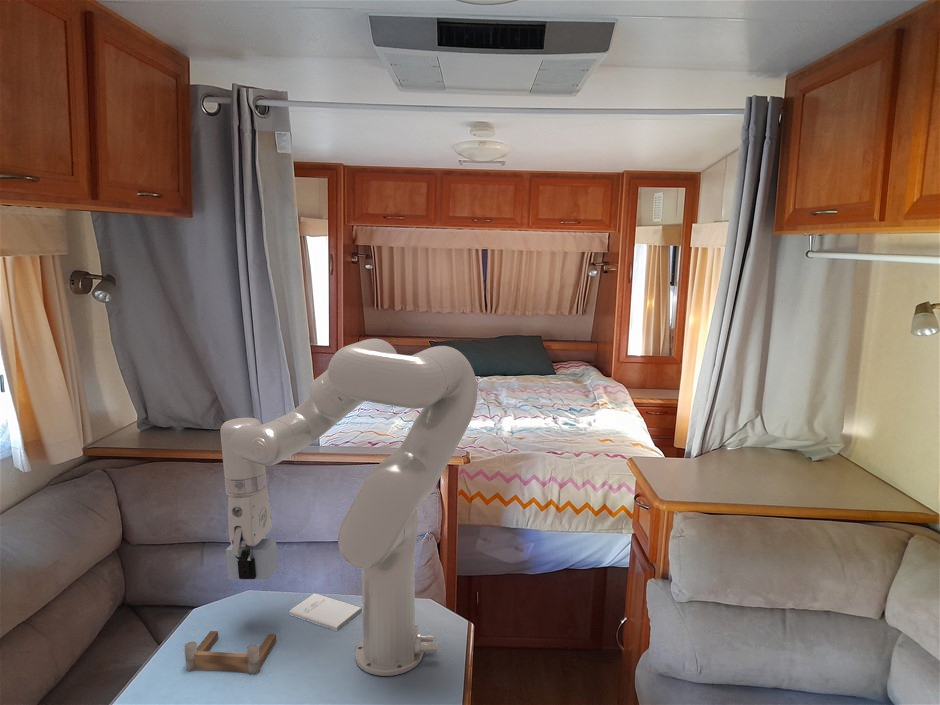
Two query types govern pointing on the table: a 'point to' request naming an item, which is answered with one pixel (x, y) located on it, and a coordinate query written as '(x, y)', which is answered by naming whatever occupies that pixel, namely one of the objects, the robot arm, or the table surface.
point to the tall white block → (256, 559)
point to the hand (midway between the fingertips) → (253, 570)
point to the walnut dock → (226, 656)
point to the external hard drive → (326, 611)
